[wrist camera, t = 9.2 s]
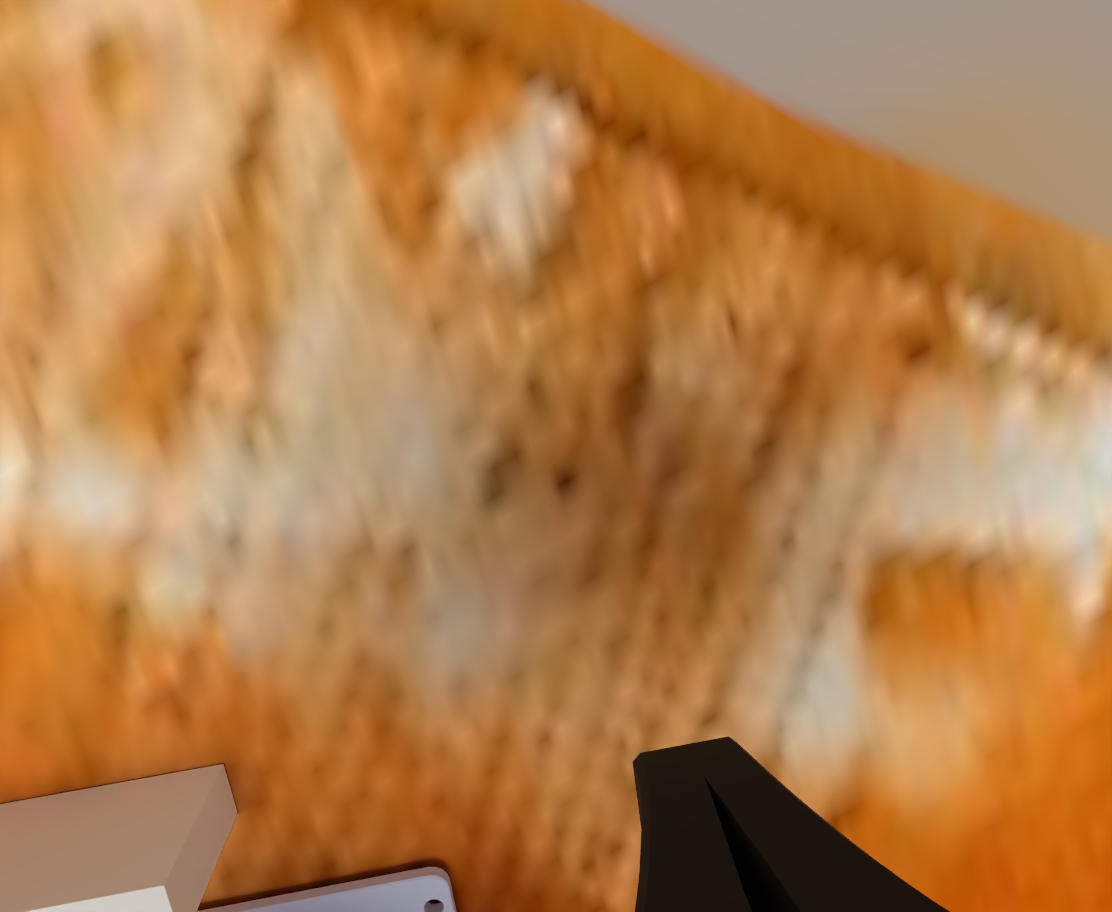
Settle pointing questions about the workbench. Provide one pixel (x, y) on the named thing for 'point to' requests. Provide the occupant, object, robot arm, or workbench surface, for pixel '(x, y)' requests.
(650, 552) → the workbench surface
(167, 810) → the shelf wall
